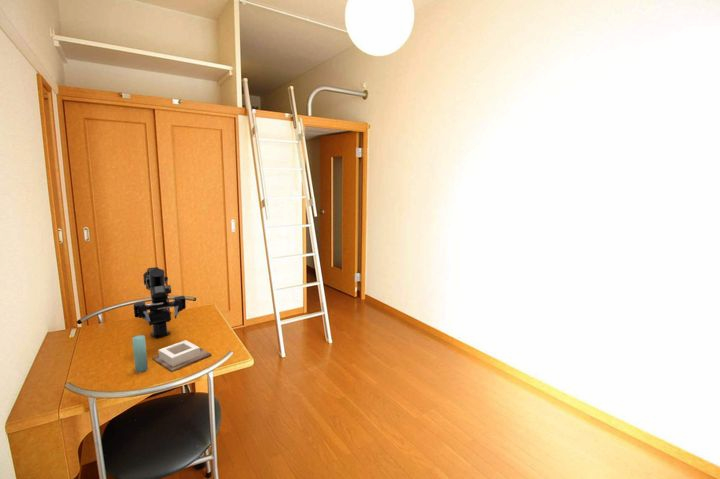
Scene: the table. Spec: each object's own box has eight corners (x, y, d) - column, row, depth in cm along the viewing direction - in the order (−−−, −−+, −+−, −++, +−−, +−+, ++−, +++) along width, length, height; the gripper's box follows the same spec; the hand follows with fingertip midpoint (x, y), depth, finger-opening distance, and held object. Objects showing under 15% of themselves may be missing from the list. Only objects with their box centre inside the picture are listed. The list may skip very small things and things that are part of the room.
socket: (159, 357, 141) (158, 349, 140) (186, 347, 150) (185, 340, 149) (172, 366, 134) (171, 358, 134) (200, 355, 143) (199, 347, 143)
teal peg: (133, 370, 133) (130, 337, 131) (145, 365, 136) (142, 334, 134) (138, 373, 131) (134, 340, 129) (149, 369, 134) (146, 337, 132)
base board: (152, 359, 141) (152, 357, 141) (191, 344, 154) (191, 343, 154) (172, 372, 132) (171, 370, 132) (211, 355, 145) (211, 353, 145)
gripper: (131, 283, 143) (133, 309, 132) (182, 277, 153) (188, 300, 142) (133, 304, 148) (136, 330, 138) (182, 296, 159) (188, 320, 148)
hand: (162, 320), depth 141 cm, fingers open, 9 cm apart
